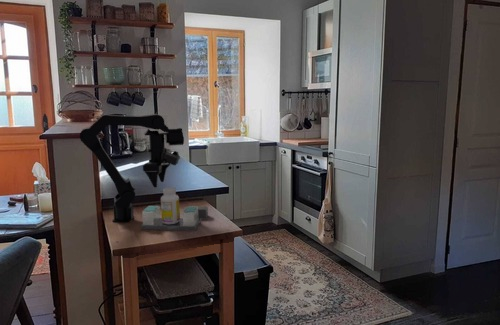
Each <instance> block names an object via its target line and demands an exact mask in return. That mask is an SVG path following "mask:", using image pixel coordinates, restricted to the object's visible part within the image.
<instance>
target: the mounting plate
mask: <svg viewBox="0 0 500 325" xmlns="http://www.w3.org/2000/svg"><path fill="white" fill-rule="evenodd" d="M198 207H199V206H197V207H195V206H186V207H185V209H184V210H183V212H182V217H180V221H179V222H178V223H176V224H164V223H163V222H162V217H161V205H148V206H147V207H146V208H144V209H143V210H142V211H141V213H142V224H141V227H140V229H141V230H144V231H145V230H153V231H157V230H158V231H187V232H188V231H193V232H195V231H196V230H197V229H198V226H199V225H200V223H201V219H198Z"/></svg>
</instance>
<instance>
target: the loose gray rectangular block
mask: <svg viewBox="0 0 500 325" xmlns="http://www.w3.org/2000/svg"><path fill="white" fill-rule="evenodd" d="M194 207H198V219H200V220H207V218H208V216H209V215H208V214H209V206H194Z"/></svg>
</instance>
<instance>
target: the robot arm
mask: <svg viewBox="0 0 500 325" xmlns="http://www.w3.org/2000/svg"><path fill="white" fill-rule="evenodd" d="M108 126H122V127H123V126H124V127H125V126H127V127H131V126H132V127H142V128H147V129H146V131H145V132H144V133H143V135H145V136H149V138H148V139H149V149H148V150H147V151H148V153H149V156H150V157H149V158H150V159H148V162H146V163H144V164H143V165H142V171H143V172H144V173H145V175H146V176H147V177H148V179H149V181H150V183H151V185H152V187H153V188H157V187H158V181H160V182H161V183H163V182H164V181H165V177H166V172H167V169H168V168H169V167H171V165H172V166H177V165H178V163H179V160H180V159H181V158H180V155H179V151H177V150H176V151H175V150H174V151H173V152H169V151H168V149H167V147H165V143H166V144H168V146H183V145H184V143H185V137H184V133H183V128H181V127H178V128H169V127H168V126H167V125H166V124H165V118H164V117H163V116H161V115H160V114H156V113H153V114H146V115H115V114H112V115H111V114H106V113H105V114H101V116H100V117H99V118H98V119H97V120H96V121H95V122H94V123H92V124H91V125H90V126H87V127H84V128H82V130H81V131H80V133H79V140H80V142H82V143H83V144H84V146H86V148H88V150H89V151H90V152H92V153H93V154H94V155H95V157H96V158H97V159H98V162H99V163H100V165H101V166H102V167H103V169H104V171H105V172H106V174H107V175H108V177H109V178H110V179H111V181H112V182H113V184H114V186H115V189H116V191H117V194H116V195H114V198H113V199H114V204H113V219H112V222H115V223H128V222H130V221H131V220H132V219H133V218H134V217H135V215H134V207H133V206H132V205H133V204H132V203H131V202H132V201H133V200H135V198H136V192H135V191H136V188H135V184H133V183H132V182H131V180H130V178H129V177H128V178H127V179H126V178H124V177H123V176H122V174H121V173H120V171H119V170H118V168H117V167H116V165H115V163H114V162H113V161H112V159H111V158H110V156H109V155H108V154H107V152H106V150H105V149H104V147H103V145H102V143H101V140H100V138H99V134H100V133H101V132H103V131H104V130H105V128H106V127H108ZM150 129H151V130H150ZM159 130H160V131H162V132H159Z"/></svg>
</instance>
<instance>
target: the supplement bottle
mask: <svg viewBox="0 0 500 325" xmlns="http://www.w3.org/2000/svg"><path fill="white" fill-rule="evenodd" d="M176 193H177V190H176V187H164V188H163V189H162V194H163V195H162V196H160V212H161V218H162V222H163V223H164V224H176V223H178V222H179V221H180V218H181V215H180V213H181V212H180V197H179V195H178V194H176Z"/></svg>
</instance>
